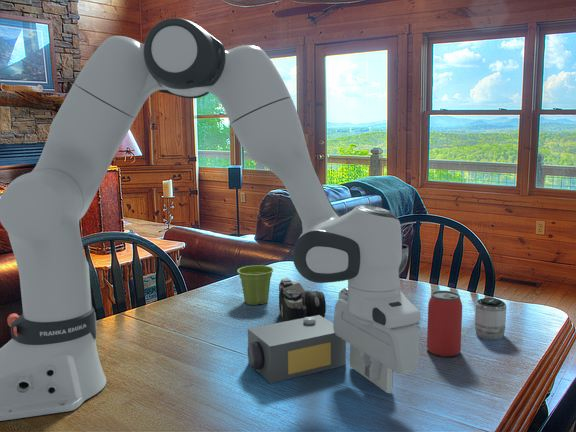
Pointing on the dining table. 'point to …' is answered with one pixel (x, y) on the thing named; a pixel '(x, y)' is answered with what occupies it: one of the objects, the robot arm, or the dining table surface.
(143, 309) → the dining table surface
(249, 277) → the plant pot
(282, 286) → the camera
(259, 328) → the block
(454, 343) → the beer can
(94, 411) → the dining table surface
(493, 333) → the camera lens
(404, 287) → the dining table surface
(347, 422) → the dining table surface
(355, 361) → the side door
